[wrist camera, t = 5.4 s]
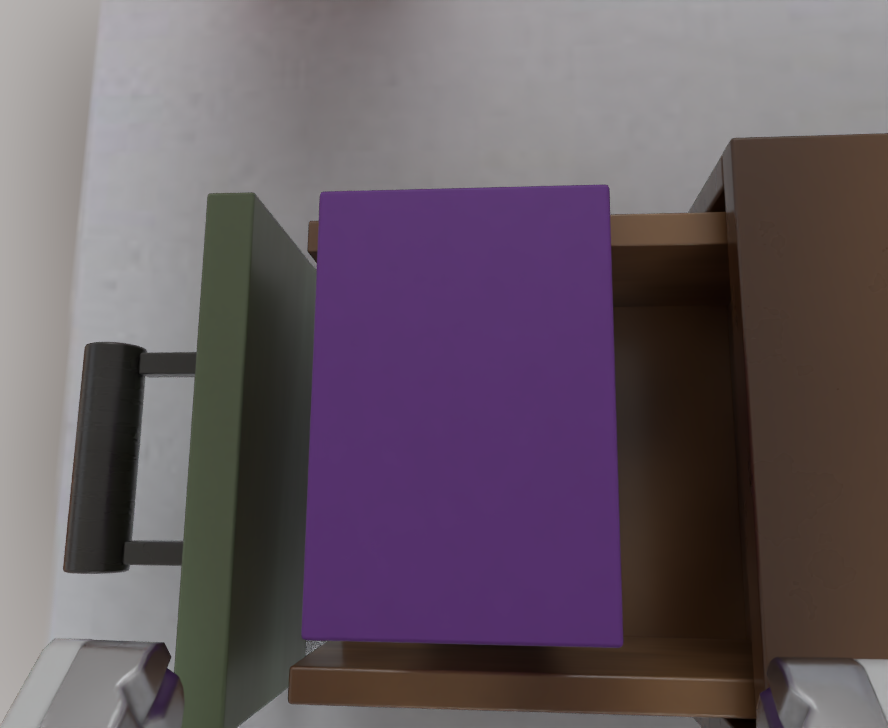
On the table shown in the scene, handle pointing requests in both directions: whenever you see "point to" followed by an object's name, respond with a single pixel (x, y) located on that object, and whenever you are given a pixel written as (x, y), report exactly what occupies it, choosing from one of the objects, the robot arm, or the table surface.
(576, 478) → the snack box
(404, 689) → the drawer
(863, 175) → the cabinet
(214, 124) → the table surface
